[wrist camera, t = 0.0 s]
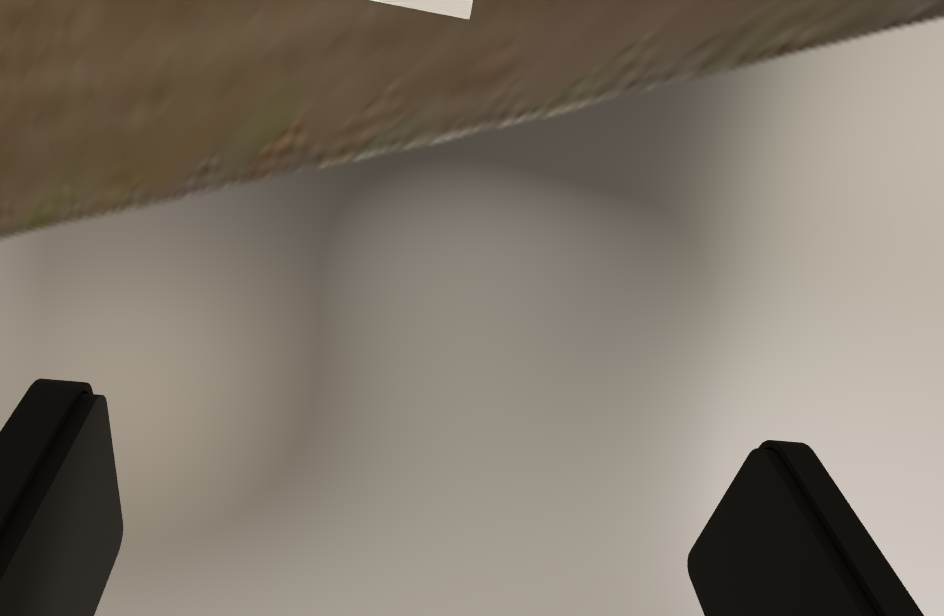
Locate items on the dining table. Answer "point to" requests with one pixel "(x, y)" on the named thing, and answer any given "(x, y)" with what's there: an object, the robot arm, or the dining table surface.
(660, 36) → the dining table surface
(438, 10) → the mat
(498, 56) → the dining table surface
